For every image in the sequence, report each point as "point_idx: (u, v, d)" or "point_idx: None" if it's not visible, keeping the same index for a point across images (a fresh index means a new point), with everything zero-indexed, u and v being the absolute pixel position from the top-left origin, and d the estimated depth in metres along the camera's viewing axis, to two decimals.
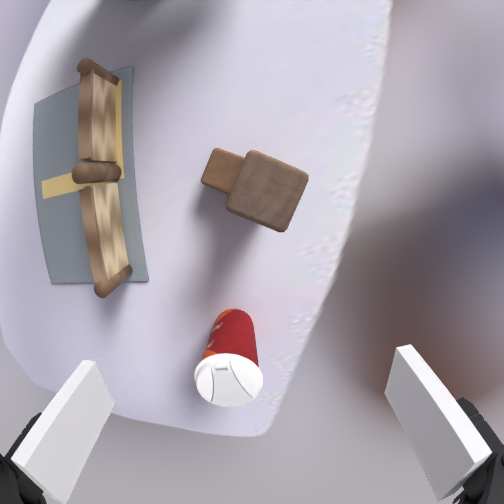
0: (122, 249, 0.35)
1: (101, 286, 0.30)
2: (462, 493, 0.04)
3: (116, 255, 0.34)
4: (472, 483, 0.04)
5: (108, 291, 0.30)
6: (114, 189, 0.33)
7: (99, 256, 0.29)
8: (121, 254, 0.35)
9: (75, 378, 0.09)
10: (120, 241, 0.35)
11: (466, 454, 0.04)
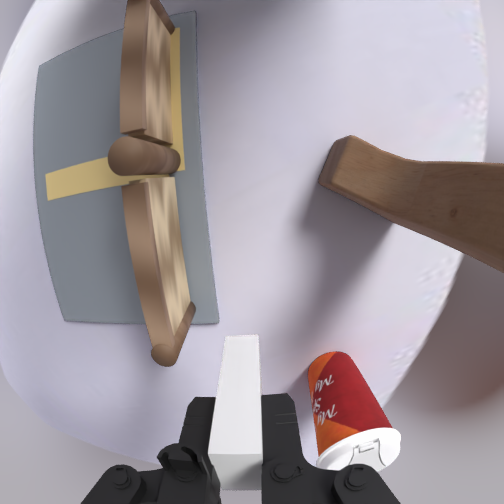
0: (183, 281, 0.24)
1: (165, 351, 0.19)
2: None
3: (179, 294, 0.23)
4: None
5: (177, 357, 0.19)
6: (172, 187, 0.22)
7: (162, 305, 0.18)
8: (183, 290, 0.24)
9: (230, 353, 0.11)
10: (181, 269, 0.24)
11: (237, 443, 0.07)
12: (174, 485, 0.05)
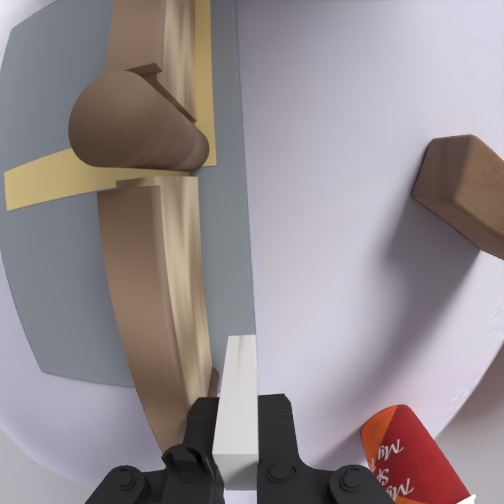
0: (206, 345, 0.15)
1: None
2: None
3: (202, 371, 0.13)
4: None
5: None
6: (194, 194, 0.13)
7: (186, 421, 0.09)
8: (205, 360, 0.15)
9: (233, 353, 0.11)
10: (204, 329, 0.15)
11: (233, 443, 0.07)
12: (178, 486, 0.05)
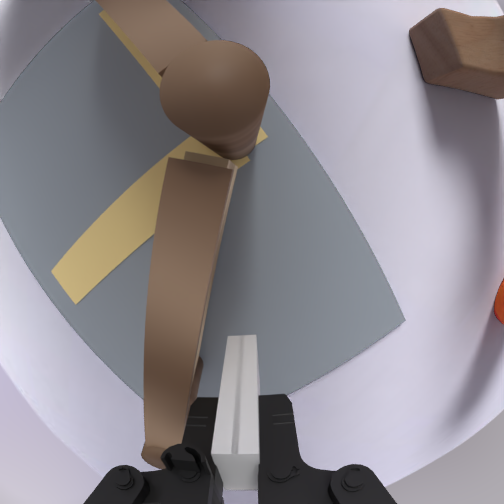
0: (201, 334, 0.15)
1: None
2: None
3: None
4: None
5: None
6: (233, 184, 0.13)
7: None
8: (198, 349, 0.15)
9: (233, 353, 0.11)
10: (204, 318, 0.15)
11: (234, 443, 0.07)
12: (177, 485, 0.05)
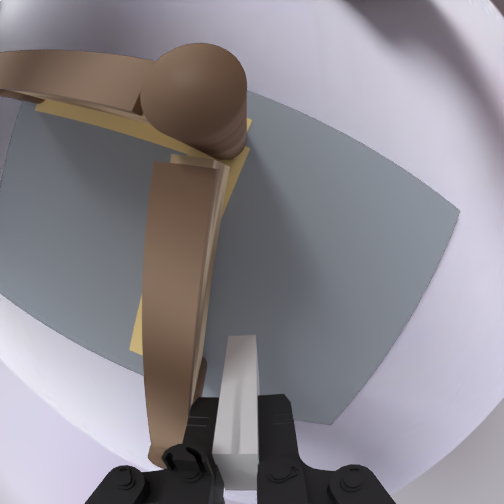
0: (203, 334, 0.15)
1: None
2: None
3: (198, 360, 0.13)
4: None
5: None
6: (225, 183, 0.13)
7: (187, 409, 0.09)
8: (201, 349, 0.15)
9: (233, 352, 0.11)
10: (205, 318, 0.15)
11: (233, 443, 0.07)
12: (178, 486, 0.05)
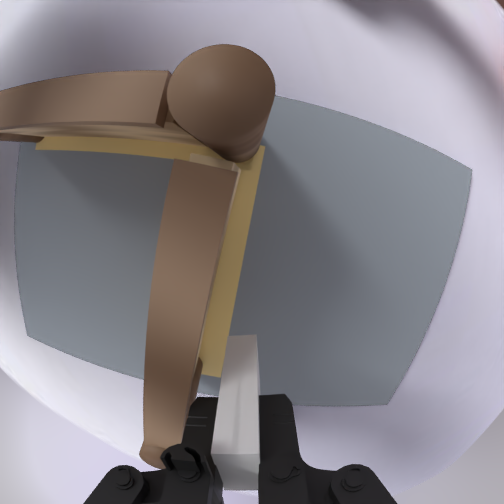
0: (202, 335, 0.15)
1: None
2: None
3: None
4: None
5: None
6: (236, 186, 0.13)
7: (184, 409, 0.09)
8: (198, 350, 0.15)
9: (232, 352, 0.11)
10: (205, 319, 0.15)
11: (234, 443, 0.07)
12: (177, 485, 0.05)
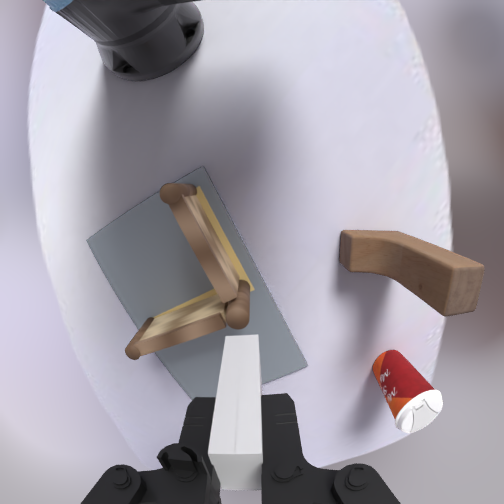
0: None
1: (136, 353, 0.29)
2: None
3: None
4: None
5: None
6: None
7: (163, 348, 0.29)
8: None
9: (230, 353, 0.11)
10: None
11: (237, 443, 0.07)
12: (174, 485, 0.05)
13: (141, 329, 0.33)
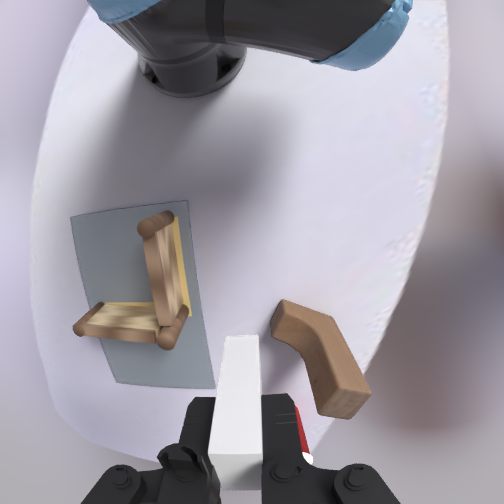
0: None
1: (81, 332, 0.32)
2: None
3: None
4: None
5: None
6: None
7: (102, 337, 0.33)
8: None
9: (230, 353, 0.11)
10: None
11: (237, 443, 0.07)
12: (174, 485, 0.05)
13: (91, 311, 0.36)
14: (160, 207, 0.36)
